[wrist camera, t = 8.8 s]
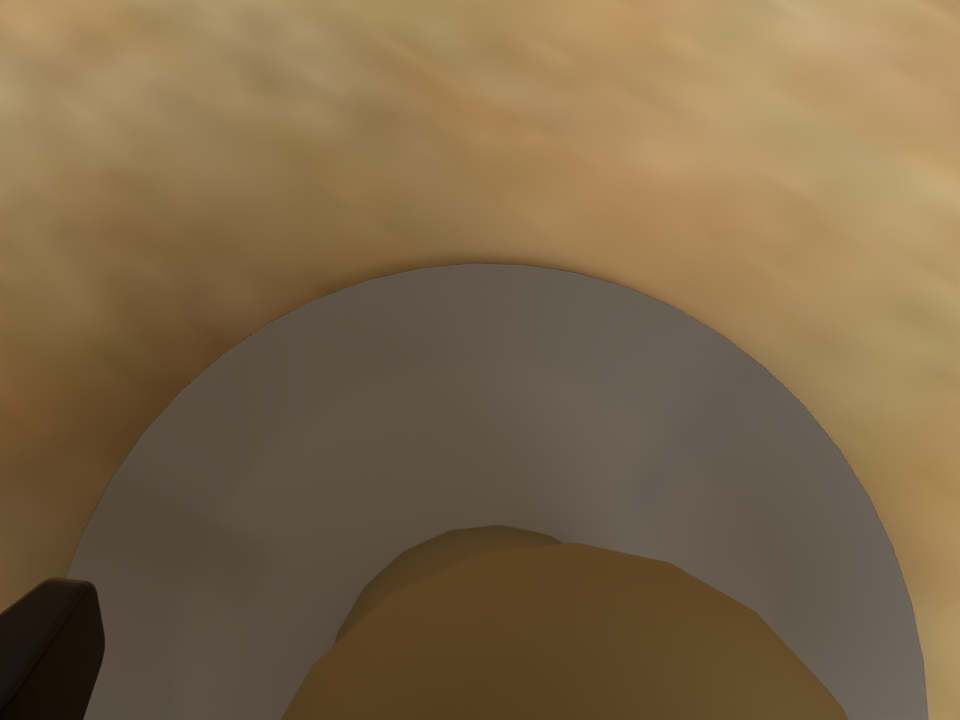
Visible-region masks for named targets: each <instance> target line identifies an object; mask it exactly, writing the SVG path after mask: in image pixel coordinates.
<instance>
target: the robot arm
mask: <svg viewBox="0 0 960 720" xmlns="http://www.w3.org/2000/svg"><path fill="white" fill-rule="evenodd" d="M104 652H105V633H104V627H103V622H102V616H101V610H100V604H99V599H98V593H97V590H96V587H95V586H94V584H93V583H91V582H89V581H86V580H76V579H67V578H50V579H47V580H45V581H43V582H42V583H40V584H39V585H37V586H36V587H35V588H33V589H32V590H31V591H29V592H28V593H27V594H25V595H24V596H23V597H22V598H20V599H19V600H18V601H16V602H15V603H14V604H12V605H11V606H10V607H8V608H7V609H6V610H4V611H3V612H2V613H0V720H83V719H84V716H85V713H86V710H87V707H88V704H89V701H90V698H91V695H92V692H93V689H94V686H95V683H96V680H97V677H98V674H99V671H100V668H101V665H102V661H103V657H104Z"/></svg>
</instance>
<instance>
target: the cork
mask: <svg viewBox="0 0 960 720" xmlns="http://www.w3.org/2000/svg"><path fill="white" fill-rule="evenodd" d="M281 720H849V719H848V717H847V715H846V713H845V711H844V709H843V708H842V706H841V705H840V704H839V703H838V701H837V700H836V699H835V698H834V697H833V695H832V694H831V693H830V692H829V690H828V689H827V688H826V687H825V686H824V685H823V684H822V682H821V681H820V680H819V679H818V678H817V677H816V676H815V675H814V674H813V673H812V672H811V671H810V670H809V668H808V667H807V666H806V665H805V664H804V663H803V662H802V661H801V660H800V659H799V658H798V657H797V656H796V654H795V653H794V652H793V651H792V650H791V649H790V648H789V647H788V646H787V645H786V644H785V643H784V642H783V641H782V639H781V638H780V637H779V636H778V635H777V634H776V633H775V632H774V631H773V630H772V629H771V628H770V627H769V625H768V624H767V623H766V622H765V621H764V620H763V619H762V618H761V617H760V616H759V615H758V614H757V613H756V612H755V611H753V610H752V609H750V608H748V607H746V606H745V605H743V604H741V603H739V602H738V601H736V600H734V599H733V598H731V597H729V596H727V595H726V594H724V593H722V592H720V591H719V590H717V589H715V588H713V587H712V586H710V585H708V584H706V583H705V582H703V581H701V580H699V579H698V578H696V577H694V576H693V575H691V574H689V573H687V572H686V571H684V570H682V569H680V568H679V567H677V566H675V565H673V564H672V563H670V562H665V561H660V560H656V559H651V558H646V557H641V556H637V555H632V554H627V553H622V552H618V551H613V550H608V549H604V548H599V547H594V546H589V545H585V544H580V543H566V544H564V543H562V542H560V541H558V540H557V539H555V538H553V537H552V536H550V535H546V534H541V533H537V532H532V531H527V530H522V529H518V528H513V527H508V526H503V525H493V526H484V527H475V528H466V529H457V530H449V531H447V532H445V533H443V534H440V535H438V536H436V537H434V538H432V539H430V540H427V541H425V542H423V543H421V544H419V545H416V546H414V547H412V548H410V549H408V550H406V551H403V552H402V553H401V554H400V555H399V556H398V557H397V558H395V559H394V560H393V561H392V562H391V563H390V564H389V565H388V566H387V567H386V568H384V569H383V570H382V571H381V572H380V573H379V574H378V575H377V576H376V577H375V578H374V579H372V580H371V581H370V582H369V583H368V584H367V585H366V586H365V587H364V588H363V590H362V591H361V593H360V595H359V597H358V598H357V600H356V602H355V604H354V605H353V607H352V609H351V610H350V612H349V614H348V616H347V617H346V619H345V621H344V622H343V624H342V626H341V628H340V629H339V631H338V633H337V635H336V640H335V644H334V646H333V647H332V648H331V649H330V650H328V651H327V652H326V653H325V654H324V655H323V656H322V657H321V658H320V659H319V660H318V661H317V662H315V663H314V664H313V665H312V667H311V668H310V670H309V672H308V673H307V675H306V677H305V679H304V680H303V682H302V684H301V685H300V687H299V689H298V691H297V692H296V694H295V696H294V698H293V699H292V701H291V703H290V704H289V706H288V708H287V710H286V711H285V713H284V715H283V716H282V718H281Z"/></svg>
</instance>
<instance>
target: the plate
mask: <svg viewBox="0 0 960 720" xmlns="http://www.w3.org/2000/svg"><path fill="white" fill-rule="evenodd" d="M493 525H503V526H508V527H513V528H518V529H522V530H527V531H532V532H537V533H541V534H546V535H550V536H552V537H553V538H555V539H557V540H558V541H560V542H562V543H564V544H566V543H580V544H585V545H589V546H594V547H599V548H604V549H608V550H613V551H618V552H622V553H627V554H632V555H637V556H641V557H646V558H651V559H656V560H660V561H665V562H670V563H672V564H673V565H675V566H677V567H679V568H680V569H682V570H684V571H686V572H687V573H689V574H691V575H693V576H694V577H696V578H698V579H699V580H701V581H703V582H705V583H706V584H708V585H710V586H712V587H713V588H715V589H717V590H719V591H720V592H722V593H724V594H726V595H727V596H729V597H731V598H733V599H734V600H736V601H738V602H739V603H741V604H743V605H745V606H746V607H748V608H750V609H752V610H753V611H755V612H756V613H757V614H758V615H759V616H760V617H761V618H762V619H763V620H764V621H765V622H766V623H767V624H768V625H769V627H770V628H771V629H772V630H773V631H774V632H775V633H776V634H777V635H778V636H779V637H780V638H781V639H782V641H783V642H784V643H785V644H786V645H787V646H788V647H789V648H790V649H791V650H792V651H793V652H794V653H795V654H796V656H797V657H798V658H799V659H800V660H801V661H802V662H803V663H804V664H805V665H806V666H807V667H808V668H809V670H810V671H811V672H812V673H813V674H814V675H815V676H816V677H817V678H818V679H819V680H820V681H821V682H822V684H823V685H824V686H825V687H826V688H827V689H828V690H829V692H830V693H831V694H832V695H833V697H834V698H835V699H836V700H837V701H838V703H839V704H840V705H841V706H842V708H843V709H844V711H845V713H846V715H847V717H848V719H849V720H928V710H927V698H926V686H925V673H924V661H923V656H922V651H921V646H920V642H919V637H918V632H917V627H916V622H915V617H914V612H913V607H912V603H911V600H910V597H909V594H908V591H907V588H906V585H905V582H904V579H903V576H902V573H901V570H900V567H899V564H898V561H897V558H896V555H895V552H894V549H893V546H892V544H891V542H890V540H889V538H888V536H887V534H886V531H885V529H884V527H883V525H882V523H881V521H880V519H879V517H878V514H877V512H876V510H875V508H874V506H873V504H872V502H871V500H870V497H869V496H868V494H867V492H866V491H865V489H864V488H863V486H862V484H861V483H860V481H859V480H858V478H857V476H856V475H855V473H854V472H853V470H852V469H851V467H850V465H849V464H848V462H847V461H846V459H845V457H844V456H843V454H842V453H841V451H840V449H839V448H838V447H837V446H836V444H835V443H834V442H833V441H832V439H831V438H830V437H829V436H828V434H827V433H826V432H825V431H824V429H823V428H822V427H821V426H820V424H819V423H818V422H817V421H816V420H815V418H814V417H813V416H812V415H811V413H810V412H809V411H808V410H807V408H806V407H805V406H804V405H803V404H802V403H801V402H800V401H799V400H798V399H797V398H796V397H795V396H794V395H793V394H792V393H791V392H790V391H789V390H788V389H787V388H786V387H785V386H784V385H783V384H781V383H780V382H779V381H778V380H777V379H776V378H775V377H774V376H773V375H772V374H771V373H770V372H769V371H768V370H767V369H766V368H765V367H764V366H762V365H761V364H760V363H758V362H757V361H756V360H754V359H753V358H752V357H750V356H749V355H748V354H747V353H745V352H744V351H743V350H741V349H740V348H739V347H737V346H736V345H735V344H733V343H732V342H731V341H729V340H728V339H727V338H725V337H724V336H723V335H721V334H720V333H718V332H716V331H714V330H713V329H711V328H709V327H708V326H706V325H704V324H702V323H701V322H699V321H697V320H695V319H694V318H692V317H690V316H689V315H687V314H685V313H683V312H682V311H680V310H678V309H677V308H674V307H672V306H670V305H667V304H665V303H663V302H660V301H658V300H656V299H653V298H651V297H649V296H646V295H644V294H642V293H639V292H637V291H635V290H632V289H630V288H628V287H624V286H621V285H617V284H614V283H610V282H607V281H603V280H600V279H596V278H593V277H589V276H586V275H582V274H579V273H574V272H568V271H561V270H555V269H548V268H542V267H536V266H529V265H514V264H480V263H470V264H460V265H449V266H439V267H429V268H419V269H415V270H410V271H406V272H401V273H397V274H392V275H388V276H384V277H379V278H375V279H370V280H367V281H364V282H361V283H358V284H356V285H353V286H350V287H347V288H344V289H342V290H339V291H336V292H333V293H331V294H328V295H325V296H322V297H320V298H317V299H315V300H313V301H311V302H309V303H307V304H305V305H303V306H301V307H299V308H297V309H295V310H293V311H291V312H290V313H288V314H286V315H284V316H282V317H280V318H278V319H276V320H274V321H272V322H270V323H268V324H267V325H265V326H264V327H262V328H261V329H259V330H258V331H256V332H255V333H253V334H252V335H250V336H249V337H248V338H246V339H245V340H243V341H242V342H240V343H239V344H237V345H236V346H234V347H233V348H231V349H230V350H228V351H227V352H225V353H224V354H223V355H221V356H220V357H219V358H218V359H217V360H216V361H215V362H213V363H212V364H211V365H210V366H209V367H208V368H207V369H205V370H204V371H203V372H202V373H201V374H200V375H199V376H198V377H196V378H195V379H194V380H193V381H192V382H191V383H190V384H188V385H187V386H186V387H185V388H184V389H183V390H182V391H180V393H179V394H178V395H177V396H176V397H175V398H174V399H173V400H172V402H171V403H170V404H169V405H168V406H167V407H166V408H165V409H164V411H163V412H162V413H161V414H160V415H159V416H158V417H157V418H156V420H155V421H154V422H153V423H152V424H151V425H150V426H149V427H148V429H147V430H146V431H145V432H144V433H143V434H142V436H141V437H140V439H139V440H138V441H137V443H136V444H135V446H134V447H133V449H132V450H131V452H130V453H129V455H128V456H127V457H126V459H125V460H124V462H123V463H122V465H121V466H120V468H119V469H118V470H117V472H116V473H115V475H114V476H113V478H112V479H111V481H110V482H109V484H108V486H107V488H106V490H105V492H104V494H103V495H102V497H101V499H100V501H99V503H98V505H97V507H96V509H95V511H94V513H93V515H92V517H91V518H90V520H89V522H88V524H87V526H86V528H85V530H84V532H83V534H82V536H81V539H80V541H79V544H78V547H77V549H76V552H75V555H74V557H73V560H72V563H71V565H70V568H69V571H68V574H67V576H66V578H67V579H76V580H86V581H89V582H91V583H93V584H94V586H95V587H96V590H97V593H98V599H99V604H100V610H101V616H102V622H103V627H104V633H105V652H104V657H103V661H102V665H101V668H100V671H99V674H98V677H97V680H96V683H95V686H94V689H93V692H92V695H91V698H90V701H89V704H88V707H87V710H86V713H85V716H84V719H83V720H281V718H282V716H283V715H284V713H285V711H286V710H287V708H288V706H289V704H290V703H291V701H292V699H293V698H294V696H295V694H296V692H297V691H298V689H299V687H300V685H301V684H302V682H303V680H304V679H305V677H306V675H307V673H308V672H309V670H310V668H311V667H312V665H313V664H314V663H315V662H317V661H318V660H319V659H320V658H321V657H322V656H323V655H324V654H325V653H326V652H327V651H328V650H330V649H331V648H332V647H333V646H334V644H335V640H336V635H337V633H338V631H339V629H340V628H341V626H342V624H343V622H344V621H345V619H346V617H347V616H348V614H349V612H350V610H351V609H352V607H353V605H354V604H355V602H356V600H357V598H358V597H359V595H360V593H361V591H362V590H363V588H364V587H365V586H366V585H367V584H368V583H369V582H370V581H371V580H372V579H374V578H375V577H376V576H377V575H378V574H379V573H380V572H381V571H382V570H383V569H384V568H386V567H387V566H388V565H389V564H390V563H391V562H392V561H393V560H394V559H395V558H397V557H398V556H399V555H400V554H401V553H402V552H403V551H406V550H408V549H410V548H412V547H414V546H416V545H419V544H421V543H423V542H425V541H427V540H430V539H432V538H434V537H436V536H438V535H440V534H443V533H445V532H447V531H449V530H457V529H466V528H475V527H484V526H493Z"/></svg>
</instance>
